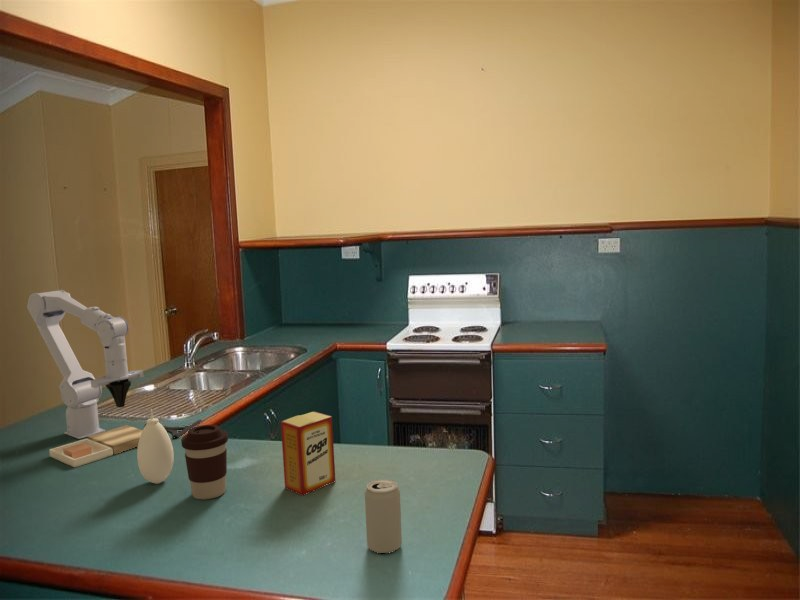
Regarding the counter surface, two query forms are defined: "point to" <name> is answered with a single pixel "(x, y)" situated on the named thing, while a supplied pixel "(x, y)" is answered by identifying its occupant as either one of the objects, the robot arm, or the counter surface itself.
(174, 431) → the bracket
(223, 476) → the coffee cup
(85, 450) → the tile
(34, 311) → the robot arm
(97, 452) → the tray
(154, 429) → the rubber air blower
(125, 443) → the large beige panel
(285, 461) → the baking soda box
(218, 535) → the counter surface
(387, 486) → the beverage can
